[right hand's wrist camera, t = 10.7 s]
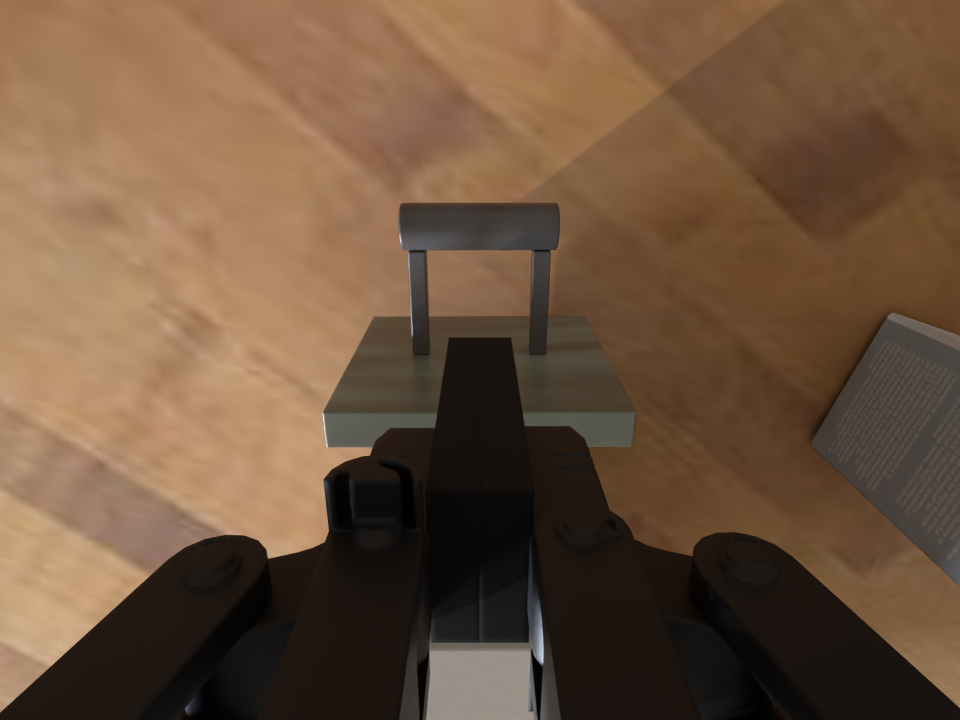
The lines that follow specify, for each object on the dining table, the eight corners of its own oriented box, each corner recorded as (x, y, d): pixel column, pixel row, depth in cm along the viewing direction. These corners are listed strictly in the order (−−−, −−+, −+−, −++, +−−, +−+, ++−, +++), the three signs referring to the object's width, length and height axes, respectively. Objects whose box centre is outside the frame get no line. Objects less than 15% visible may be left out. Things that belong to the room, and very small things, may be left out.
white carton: (376, 466, 29) (321, 649, 19) (583, 466, 29) (638, 649, 19) (394, 700, 36) (360, 933, 25) (565, 700, 36) (600, 933, 25)
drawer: (364, 189, 23) (300, 227, 15) (594, 188, 23) (657, 226, 15) (393, 590, 31) (361, 762, 23) (566, 590, 31) (598, 762, 23)
